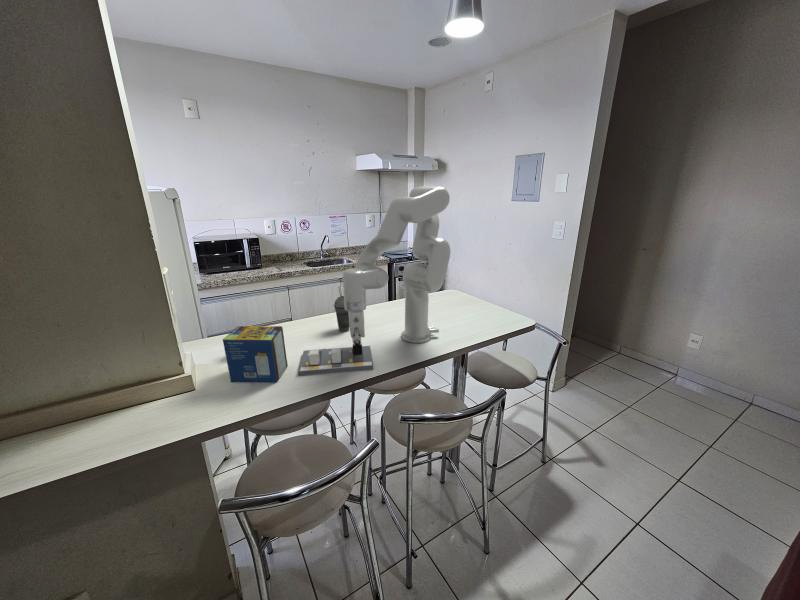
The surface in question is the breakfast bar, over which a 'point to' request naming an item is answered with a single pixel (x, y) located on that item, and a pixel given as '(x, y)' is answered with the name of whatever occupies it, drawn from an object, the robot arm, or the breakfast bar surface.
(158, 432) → the breakfast bar surface
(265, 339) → the protein box
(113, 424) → the breakfast bar surface
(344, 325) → the beverage cup
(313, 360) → the switch
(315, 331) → the breakfast bar surface
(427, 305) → the robot arm
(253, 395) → the breakfast bar surface
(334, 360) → the switch middle
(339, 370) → the switch panel
